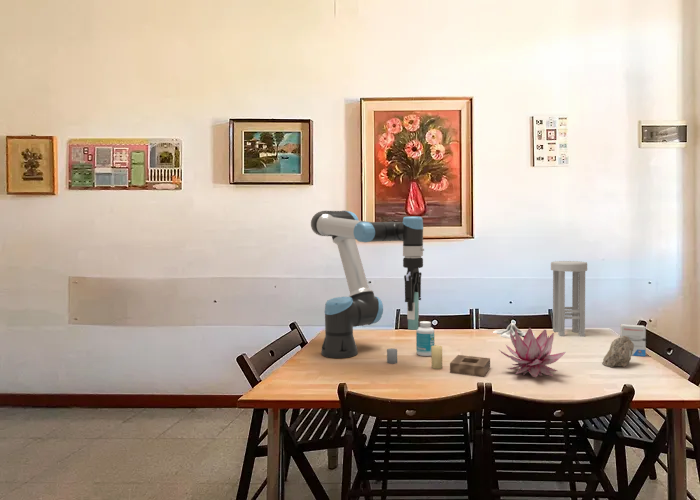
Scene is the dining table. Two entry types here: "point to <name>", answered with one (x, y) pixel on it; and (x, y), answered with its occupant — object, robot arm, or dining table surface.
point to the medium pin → (436, 356)
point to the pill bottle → (424, 339)
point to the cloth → (511, 328)
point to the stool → (577, 296)
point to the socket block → (470, 365)
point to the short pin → (391, 356)
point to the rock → (619, 352)
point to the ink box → (635, 337)
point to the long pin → (414, 323)
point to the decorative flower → (533, 353)
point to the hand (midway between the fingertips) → (413, 318)
